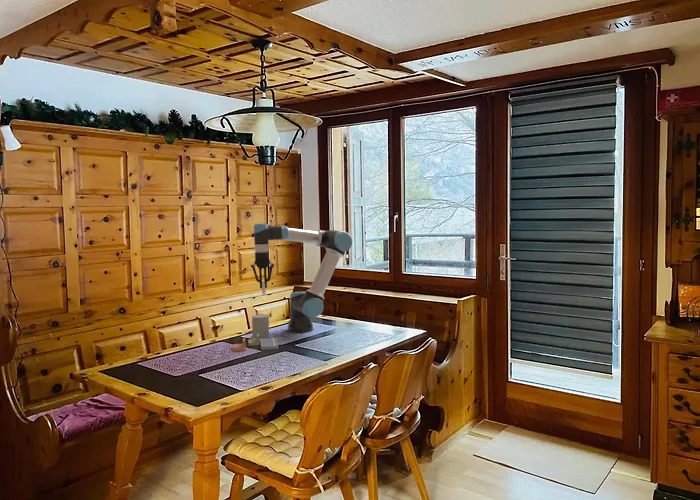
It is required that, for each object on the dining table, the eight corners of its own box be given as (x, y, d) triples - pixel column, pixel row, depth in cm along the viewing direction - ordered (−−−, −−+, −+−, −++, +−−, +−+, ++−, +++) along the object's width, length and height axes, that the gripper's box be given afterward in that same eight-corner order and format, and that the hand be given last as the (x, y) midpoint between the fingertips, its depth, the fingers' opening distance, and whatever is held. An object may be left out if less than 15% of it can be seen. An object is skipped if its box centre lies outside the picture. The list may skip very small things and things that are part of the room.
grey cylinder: (271, 335, 313) (270, 314, 312) (266, 339, 303) (266, 317, 302) (254, 334, 314) (254, 314, 313) (250, 339, 304) (249, 317, 303)
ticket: (276, 340, 300) (276, 337, 300) (278, 349, 283) (278, 345, 283) (260, 341, 299) (260, 338, 299) (261, 350, 281) (261, 346, 281)
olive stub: (259, 341, 298) (259, 333, 298) (259, 345, 290) (259, 336, 290) (248, 342, 297) (248, 333, 297) (248, 345, 289) (248, 337, 289)
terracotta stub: (245, 346, 288) (245, 337, 288) (245, 350, 280) (245, 341, 280) (234, 347, 287) (233, 338, 286) (233, 351, 279) (233, 341, 279)
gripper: (273, 250, 302) (274, 292, 304) (249, 251, 299) (251, 293, 301) (274, 251, 295) (276, 294, 297) (250, 252, 292) (252, 296, 294)
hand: (263, 293), depth 299 cm, fingers closed
